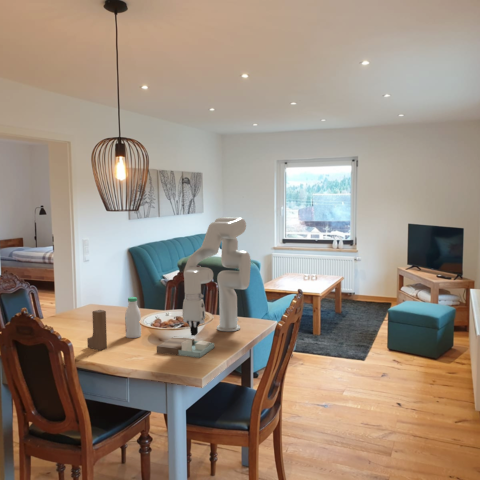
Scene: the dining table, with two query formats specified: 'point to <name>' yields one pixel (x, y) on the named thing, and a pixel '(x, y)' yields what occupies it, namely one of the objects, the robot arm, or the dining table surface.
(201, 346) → the tile
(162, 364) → the dining table surface
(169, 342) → the walnut board
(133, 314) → the milk bottle
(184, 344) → the tile
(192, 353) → the tray
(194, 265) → the robot arm
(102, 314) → the wooden block
